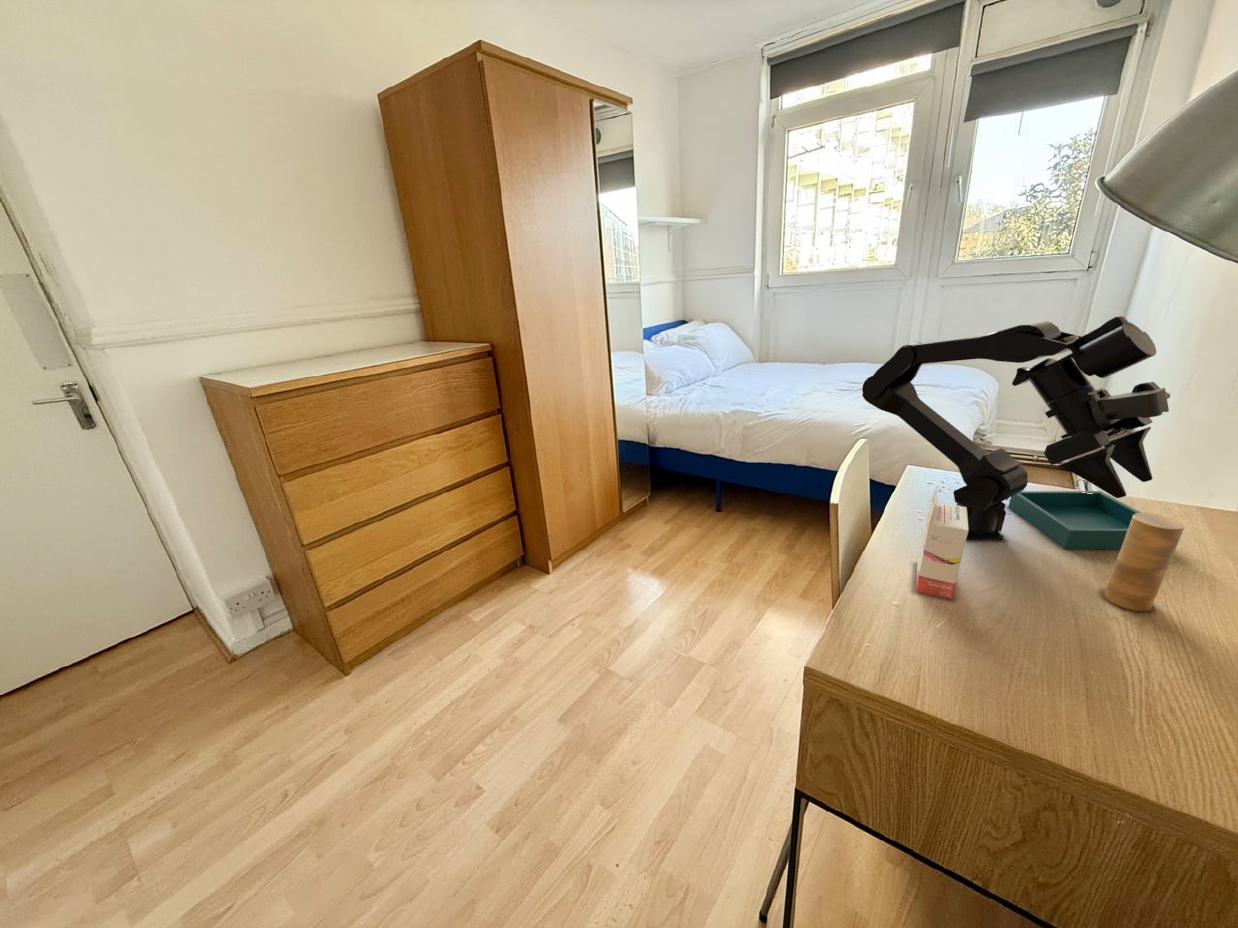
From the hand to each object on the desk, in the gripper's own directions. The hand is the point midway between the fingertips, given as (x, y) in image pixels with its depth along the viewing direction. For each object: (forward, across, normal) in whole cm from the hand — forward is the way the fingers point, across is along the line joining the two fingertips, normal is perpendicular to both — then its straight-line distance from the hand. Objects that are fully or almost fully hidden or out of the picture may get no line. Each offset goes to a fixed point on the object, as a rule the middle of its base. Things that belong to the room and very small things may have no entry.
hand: (1135, 488), depth 70 cm
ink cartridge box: (+3, -21, +20) cm, 29 cm away
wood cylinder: (+14, -4, +7) cm, 16 cm away
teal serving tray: (+6, +16, +16) cm, 24 cm away
